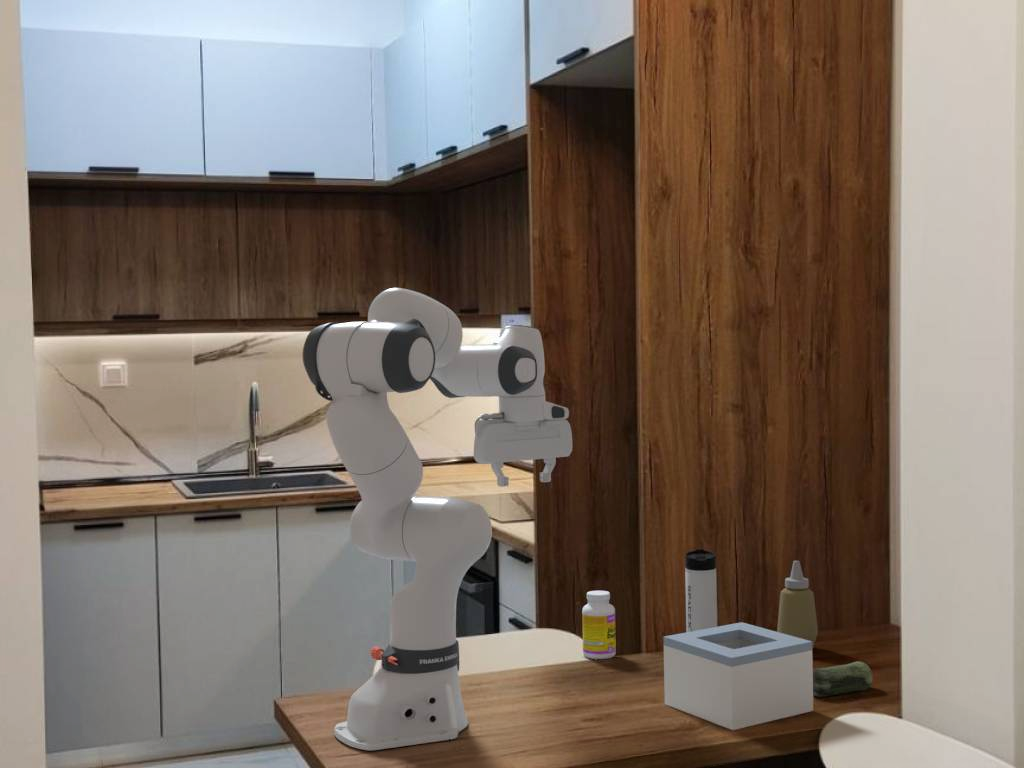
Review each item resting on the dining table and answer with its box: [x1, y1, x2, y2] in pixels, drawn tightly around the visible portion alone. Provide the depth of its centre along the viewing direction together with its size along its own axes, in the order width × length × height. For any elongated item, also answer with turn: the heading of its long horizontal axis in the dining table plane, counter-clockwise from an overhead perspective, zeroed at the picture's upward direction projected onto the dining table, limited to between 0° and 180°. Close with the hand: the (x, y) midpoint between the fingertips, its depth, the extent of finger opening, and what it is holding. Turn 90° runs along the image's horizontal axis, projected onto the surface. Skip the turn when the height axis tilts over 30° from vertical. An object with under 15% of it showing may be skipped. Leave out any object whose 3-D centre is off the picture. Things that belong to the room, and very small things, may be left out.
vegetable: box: [813, 660, 874, 698], centre depth 235 cm, size 14×5×5 cm, turn 115°
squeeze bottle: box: [776, 560, 819, 650], centre depth 265 cm, size 8×8×18 cm
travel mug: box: [684, 548, 718, 633], centre depth 268 cm, size 6×7×20 cm
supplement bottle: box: [581, 590, 617, 660], centre depth 264 cm, size 7×7×13 cm
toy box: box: [663, 622, 814, 731], centre depth 227 cm, size 18×18×12 cm
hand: (524, 484), depth 248 cm, fingers open, 8 cm apart
